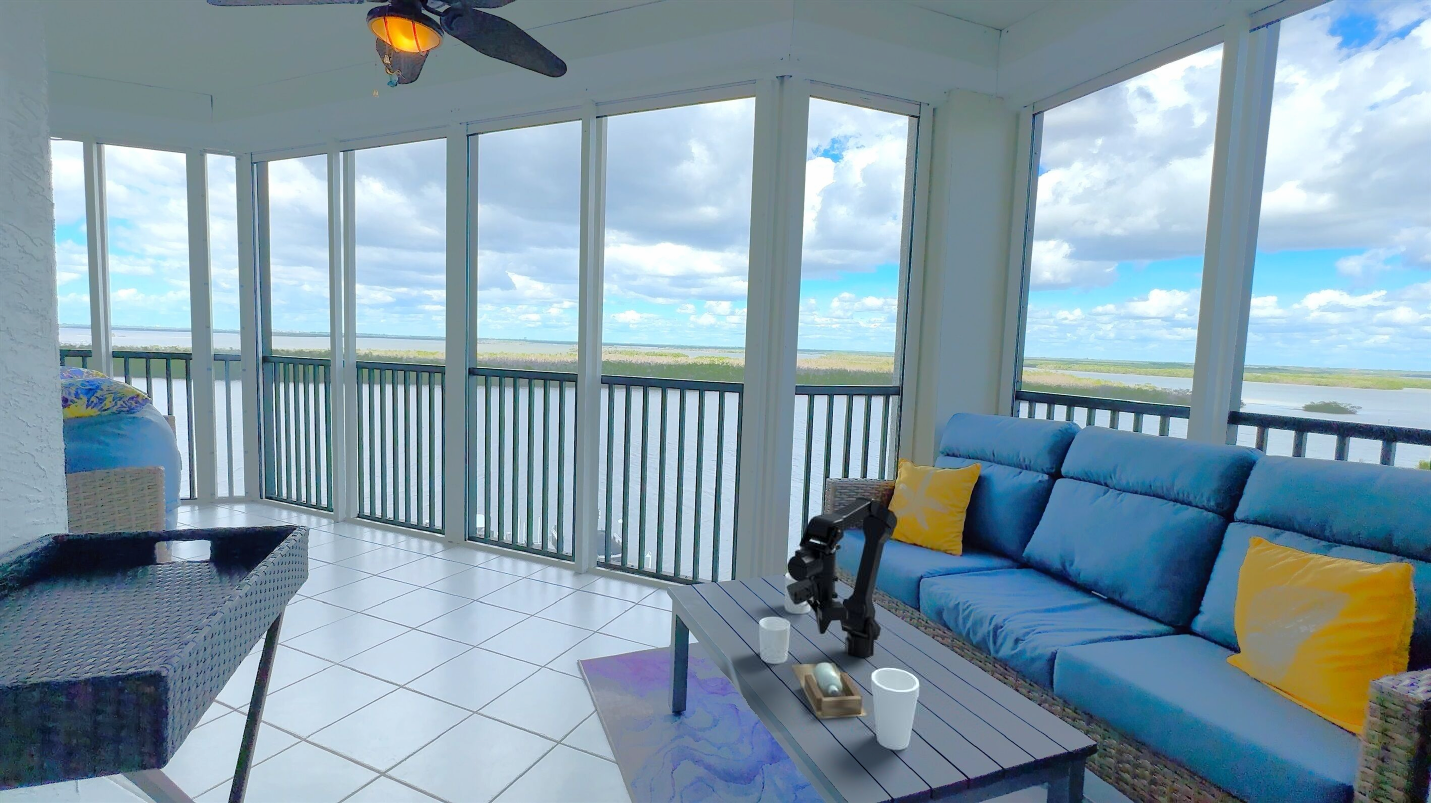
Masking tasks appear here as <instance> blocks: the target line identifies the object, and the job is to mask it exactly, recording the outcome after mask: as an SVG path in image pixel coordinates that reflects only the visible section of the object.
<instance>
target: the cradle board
mask: <svg viewBox="0 0 1431 803" xmlns="http://www.w3.org/2000/svg"><path fill="white" fill-rule="evenodd" d="M828 663H829V664H830V665H831V666H832V667H833V669H834V671H835V672H836V674H837V676H838V678H839V680H840V682H841V684H842V692H841V696H842V697H828V698H825V697H824V696H823V695H822V693H821V691H820V689H819V687H818V684H817V682H816V680H815V678H814V675H813V671H814V668H815V667H816V666H817V665H818V664H819V663H808V664H807V663H806V664H803V663H802V664H791V668H792V669H793V671H794V674H795V676H796V677H797V679H798V681H799V683H800V686H801V687H802V689H803V691H804V693H805V695H806V698H807V699H808V702H809V703H810V705H811V707H812V709H813V711H814V713H815V715H816V717H817V719H818V720H819V719H832V718H833V719H834V718H836V719H837V718H850V717H867V716H868V714H867V712H866V711H865V709H864V707H863V706H862V705H863V695H862V693H861V692H860V690H858V687H857V686H856V684H855V683H854V681H853V680H852V678H851V677H850V675H849V674H848V672H840V670H839V668H838V666H836V663H835V662H828Z"/></svg>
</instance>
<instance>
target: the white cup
mask: <svg viewBox="0 0 1431 803" xmlns="http://www.w3.org/2000/svg"><path fill="white" fill-rule="evenodd" d="M758 623H759V624H758V627H759V628H758V630H759V631H758V633H759V634H758V636H759V638H758V640H759V651H760V656H759V657H760V658H761V660H762V661H764V662H765V663H768V664H772V665H773V664H774V665H778V664H783V663H784V662H786V661H787V660H788V653H789V646H790V632H791V622H790V621H789V620H788V619H786V618H784V617H779V616H769V617H768V616H767V617H764V618H761V619H760V620H759V622H758Z"/></svg>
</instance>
